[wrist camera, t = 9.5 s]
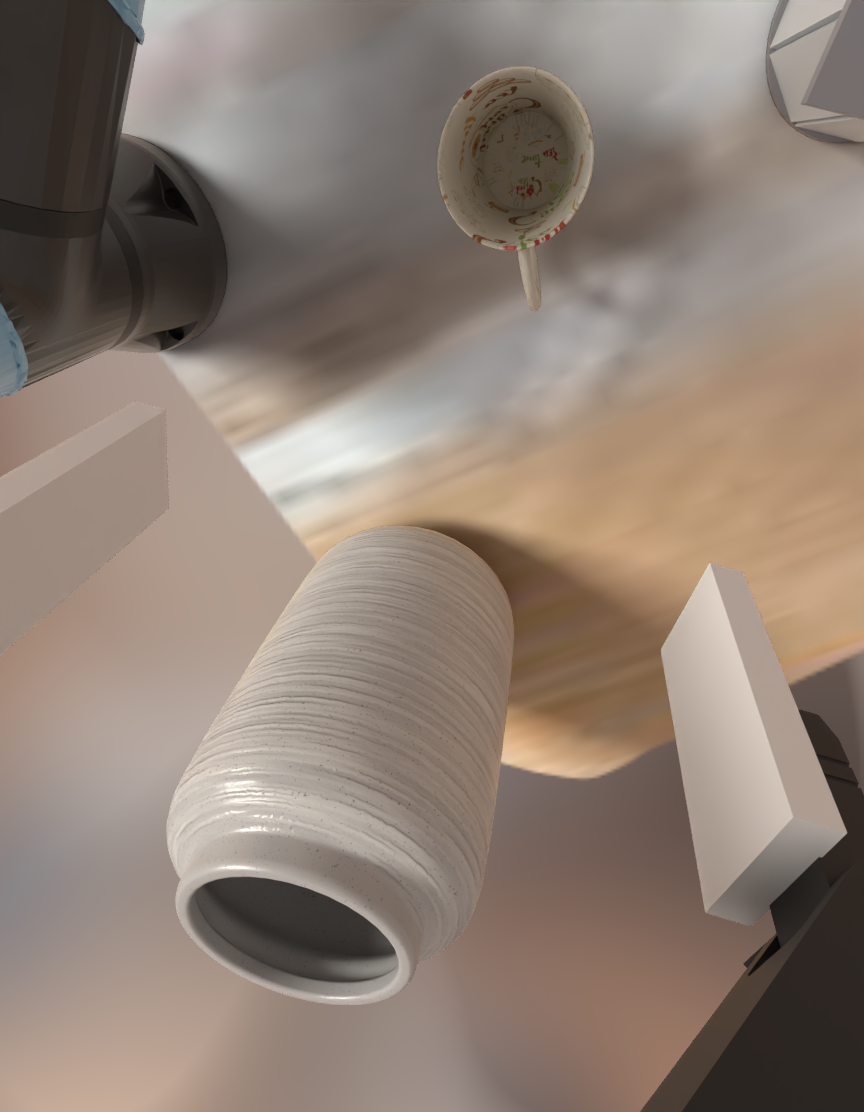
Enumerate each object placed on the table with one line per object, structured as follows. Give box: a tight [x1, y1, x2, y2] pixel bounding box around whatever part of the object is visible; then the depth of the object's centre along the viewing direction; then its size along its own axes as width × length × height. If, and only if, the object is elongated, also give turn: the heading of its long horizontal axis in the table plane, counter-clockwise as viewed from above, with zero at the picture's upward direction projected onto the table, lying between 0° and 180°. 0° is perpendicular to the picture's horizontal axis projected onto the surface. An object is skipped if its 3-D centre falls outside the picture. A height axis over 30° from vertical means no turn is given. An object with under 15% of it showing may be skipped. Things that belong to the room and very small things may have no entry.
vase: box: [167, 525, 514, 1005], centre depth 48 cm, size 20×20×34 cm
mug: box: [437, 66, 594, 311], centre depth 39 cm, size 8×13×10 cm, turn 15°
